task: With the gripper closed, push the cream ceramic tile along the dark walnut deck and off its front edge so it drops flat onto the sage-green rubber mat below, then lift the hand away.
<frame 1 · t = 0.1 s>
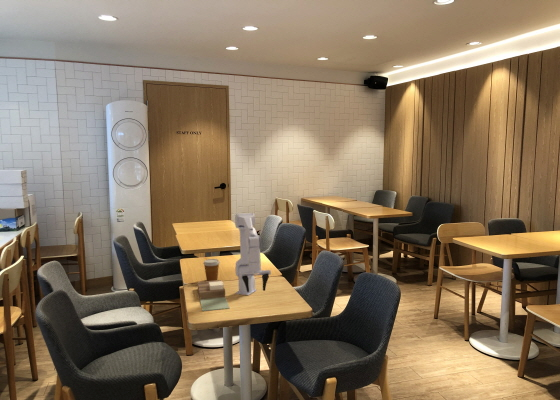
hand: (256, 291, 201), 11 cm above the table, tool pointing down, fingers open, 7 cm apart
disposable coffee cup: (212, 280, 256), on the table
mat: (214, 304, 215), on the table
deck: (211, 293, 232), on the table
tile: (216, 285, 228), point 5 cm above the table, touching deck
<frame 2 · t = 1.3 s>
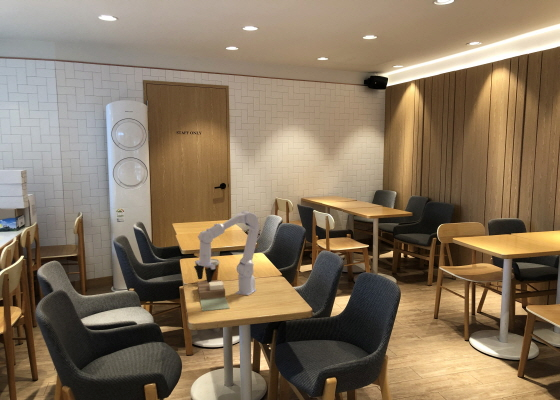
hand: (204, 280, 221), 10 cm above the table, tool pointing down, fingers open, 7 cm apart
nothing on the table moved.
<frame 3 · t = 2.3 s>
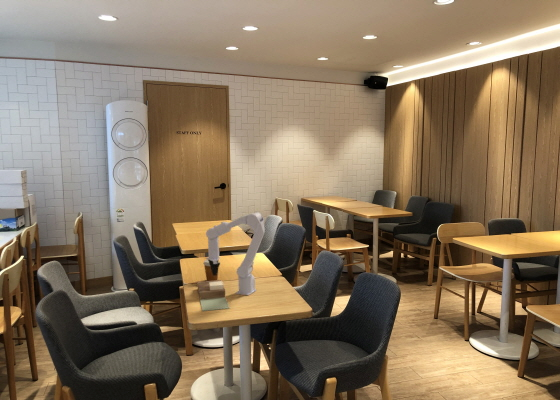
hand: (214, 273, 236), 9 cm above the table, tool pointing down, fingers open, 5 cm apart
nothing on the table moved.
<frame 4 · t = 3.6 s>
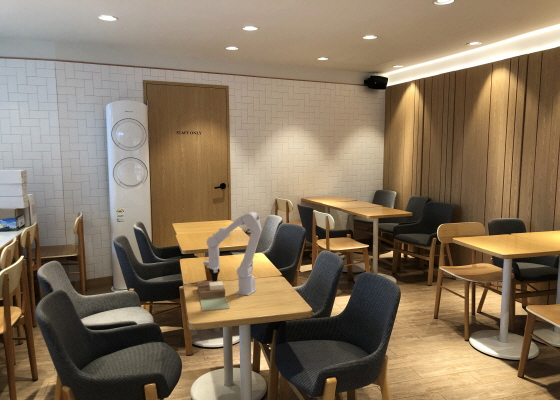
hand: (214, 282, 236), 5 cm above the table, tool pointing down, fingers closed
nothing on the table moved.
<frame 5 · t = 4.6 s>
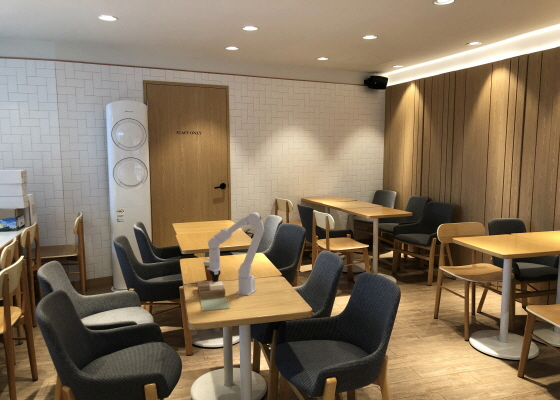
hand: (215, 284, 233), 5 cm above the table, tool pointing down, fingers closed
tile: (216, 285, 228), point 5 cm above the table, touching gripper
everything else where it was.
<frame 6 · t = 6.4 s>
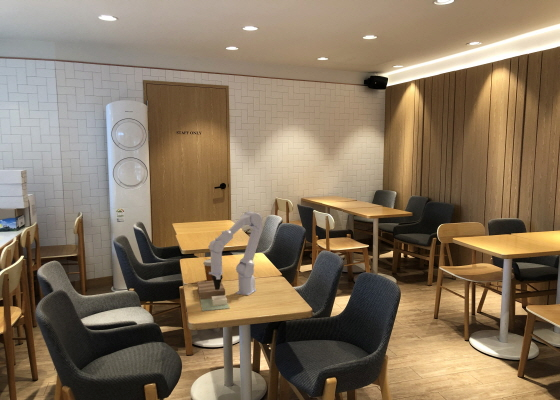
hand: (217, 289, 223), 5 cm above the table, tool pointing down, fingers closed
tile: (219, 300, 216), point 2 cm above the table, tilted 180°, touching mat
everything else where it was.
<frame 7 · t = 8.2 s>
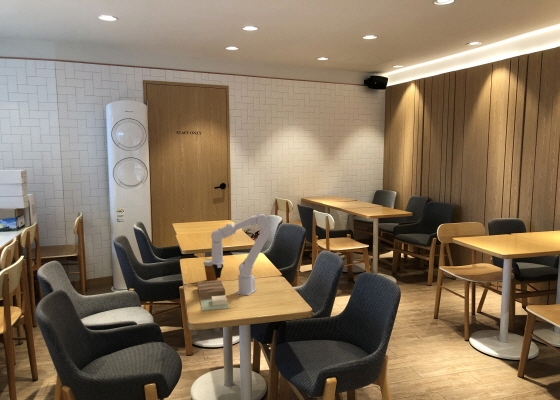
hand: (218, 277, 230), 9 cm above the table, tool pointing down, fingers closed
nothing on the table moved.
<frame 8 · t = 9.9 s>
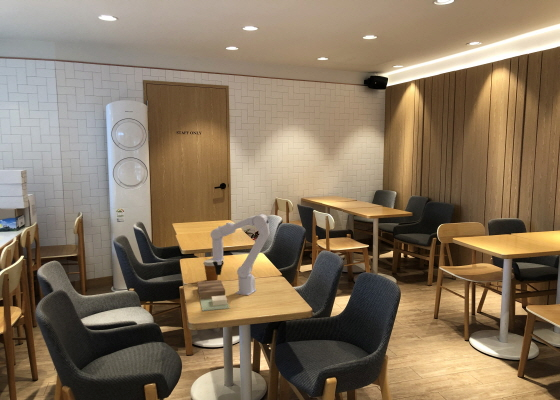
hand: (218, 274, 234), 9 cm above the table, tool pointing down, fingers closed
nothing on the table moved.
at the end: tile point 1.6 cm above the table; tile 2.5 cm from the mat (horizontally) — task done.
